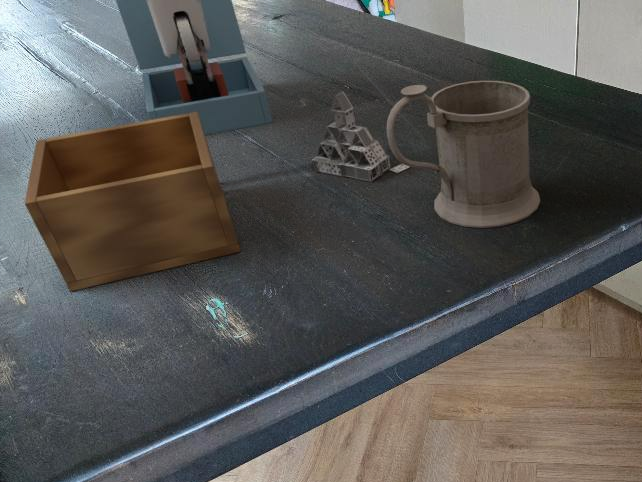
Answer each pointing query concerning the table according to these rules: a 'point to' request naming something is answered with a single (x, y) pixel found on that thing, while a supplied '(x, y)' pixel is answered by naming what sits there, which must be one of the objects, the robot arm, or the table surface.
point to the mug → (477, 151)
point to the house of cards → (351, 147)
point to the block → (182, 80)
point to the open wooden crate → (129, 200)
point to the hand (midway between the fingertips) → (208, 107)
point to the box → (212, 99)
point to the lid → (142, 27)
